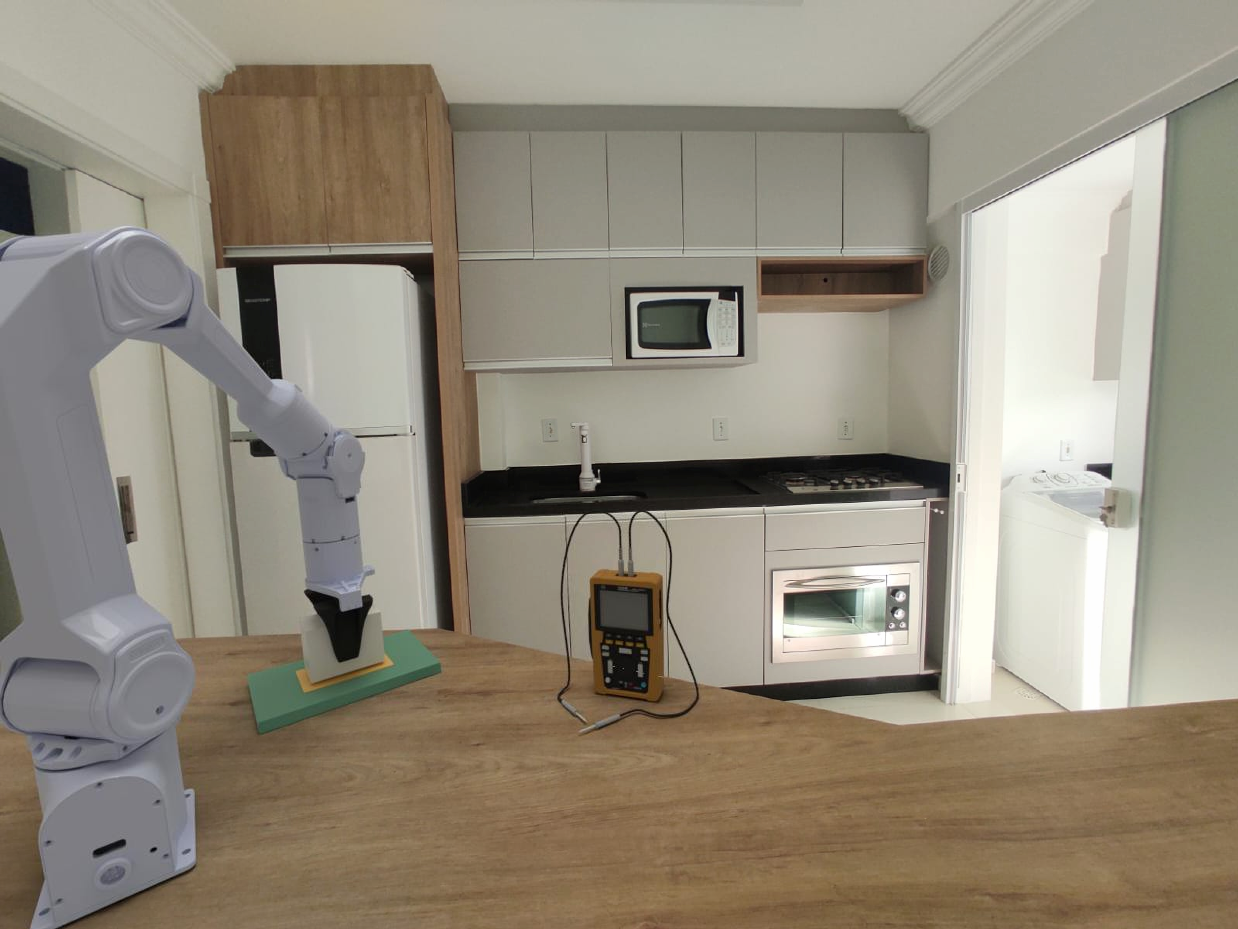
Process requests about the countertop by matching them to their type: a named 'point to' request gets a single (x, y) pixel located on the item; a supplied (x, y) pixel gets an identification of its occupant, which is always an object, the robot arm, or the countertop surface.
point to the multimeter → (626, 631)
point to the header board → (336, 683)
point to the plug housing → (321, 653)
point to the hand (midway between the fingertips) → (343, 651)
